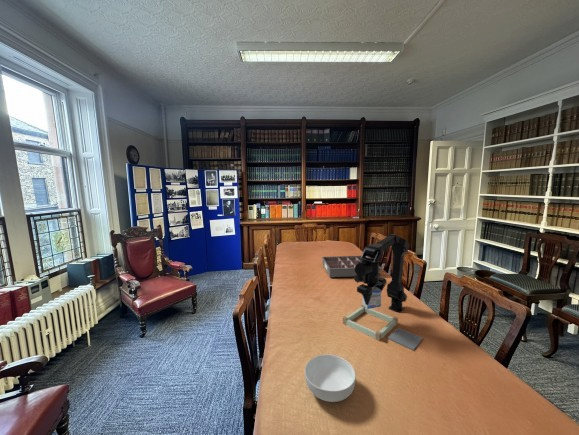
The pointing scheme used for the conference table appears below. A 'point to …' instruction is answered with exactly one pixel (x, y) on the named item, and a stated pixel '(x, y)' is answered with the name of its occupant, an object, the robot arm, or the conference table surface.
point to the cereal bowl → (330, 377)
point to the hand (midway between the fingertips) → (371, 301)
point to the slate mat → (405, 338)
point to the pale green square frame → (367, 331)
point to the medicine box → (373, 299)
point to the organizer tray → (341, 265)
